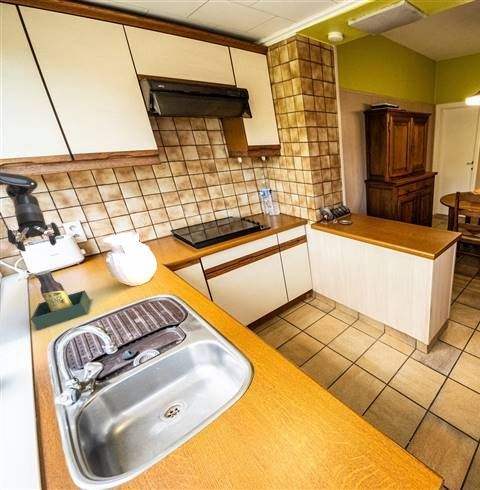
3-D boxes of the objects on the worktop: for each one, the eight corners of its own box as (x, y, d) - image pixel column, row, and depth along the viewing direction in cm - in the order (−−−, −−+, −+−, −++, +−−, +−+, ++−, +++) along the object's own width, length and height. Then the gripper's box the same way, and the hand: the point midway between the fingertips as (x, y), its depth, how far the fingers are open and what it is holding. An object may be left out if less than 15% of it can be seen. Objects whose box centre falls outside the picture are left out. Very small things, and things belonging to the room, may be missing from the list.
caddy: (38, 329, 105) (30, 319, 103) (45, 313, 115) (38, 303, 113) (87, 313, 113) (81, 303, 111) (90, 300, 123) (84, 290, 121)
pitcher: (165, 279, 138) (147, 235, 128) (120, 295, 126) (95, 247, 116) (157, 268, 150) (140, 227, 140) (115, 282, 138) (93, 238, 128)
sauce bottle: (51, 319, 110) (24, 278, 102) (59, 311, 115) (33, 271, 107) (72, 314, 113) (47, 274, 105) (79, 306, 118) (55, 267, 110)
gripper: (-2, 215, 109) (6, 248, 106) (49, 208, 117) (58, 238, 114) (10, 224, 115) (18, 256, 112) (57, 217, 123) (66, 246, 120)
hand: (38, 247), depth 113 cm, fingers open, 8 cm apart
